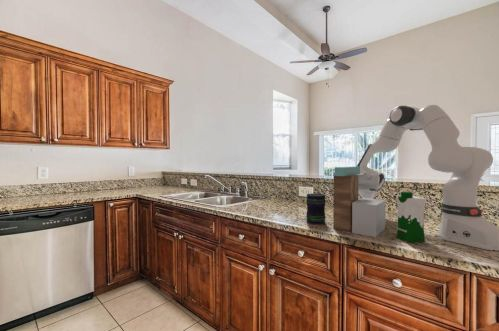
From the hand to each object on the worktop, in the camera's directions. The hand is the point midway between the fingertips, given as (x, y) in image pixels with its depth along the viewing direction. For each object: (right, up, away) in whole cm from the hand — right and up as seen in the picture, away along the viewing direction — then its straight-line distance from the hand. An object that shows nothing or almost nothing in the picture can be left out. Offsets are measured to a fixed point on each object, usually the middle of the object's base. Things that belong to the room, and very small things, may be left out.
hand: (355, 172), depth 131 cm
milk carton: (+10, -27, -30) cm, 42 cm away
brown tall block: (-10, -27, -11) cm, 31 cm away
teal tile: (-8, -1, -9) cm, 12 cm away
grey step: (-1, -27, -17) cm, 32 cm away
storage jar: (-22, -27, -1) cm, 35 cm away
